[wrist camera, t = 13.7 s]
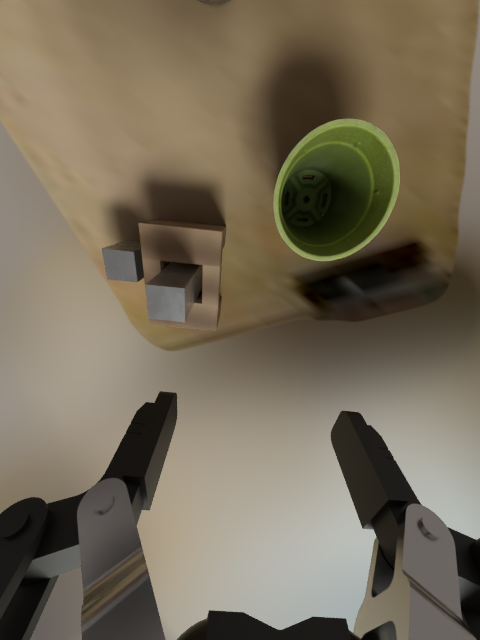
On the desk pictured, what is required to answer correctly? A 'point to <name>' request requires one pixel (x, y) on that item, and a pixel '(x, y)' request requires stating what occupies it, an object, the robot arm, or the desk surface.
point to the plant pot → (336, 189)
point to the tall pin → (174, 291)
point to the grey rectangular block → (124, 261)
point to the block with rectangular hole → (186, 247)
